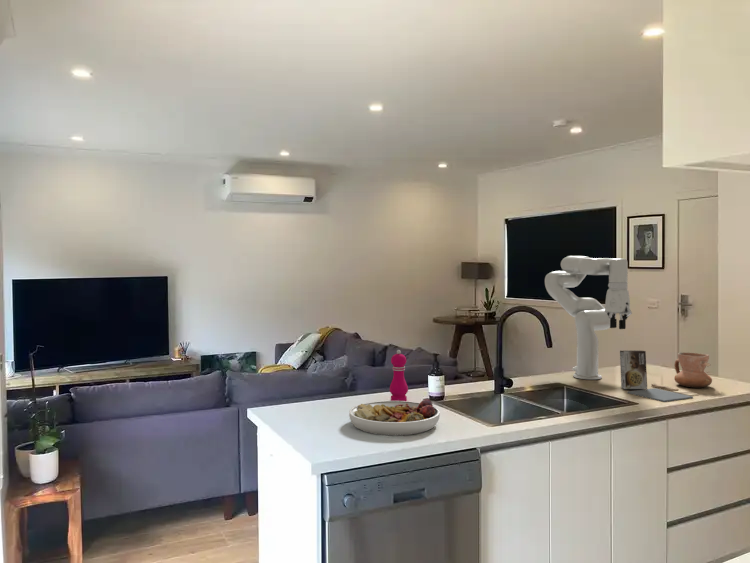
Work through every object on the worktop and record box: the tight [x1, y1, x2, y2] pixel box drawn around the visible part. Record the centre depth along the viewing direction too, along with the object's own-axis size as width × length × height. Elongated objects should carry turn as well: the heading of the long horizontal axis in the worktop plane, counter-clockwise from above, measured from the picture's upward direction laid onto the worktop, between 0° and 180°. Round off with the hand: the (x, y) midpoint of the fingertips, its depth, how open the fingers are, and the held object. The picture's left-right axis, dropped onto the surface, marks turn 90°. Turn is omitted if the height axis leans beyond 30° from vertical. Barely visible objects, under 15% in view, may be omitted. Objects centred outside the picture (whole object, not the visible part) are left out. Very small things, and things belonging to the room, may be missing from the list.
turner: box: [651, 383, 699, 397], centre depth 251 cm, size 20×5×1 cm, turn 24°
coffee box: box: [619, 349, 648, 390], centre depth 255 cm, size 9×6×16 cm
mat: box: [626, 387, 694, 403], centre depth 242 cm, size 18×16×1 cm
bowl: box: [348, 398, 441, 436], centre depth 199 cm, size 30×30×8 cm
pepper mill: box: [389, 349, 409, 401], centre depth 234 cm, size 7×7×20 cm
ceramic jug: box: [674, 351, 713, 389], centre depth 261 cm, size 18×14×14 cm
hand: (617, 328), depth 262 cm, fingers open, 4 cm apart
